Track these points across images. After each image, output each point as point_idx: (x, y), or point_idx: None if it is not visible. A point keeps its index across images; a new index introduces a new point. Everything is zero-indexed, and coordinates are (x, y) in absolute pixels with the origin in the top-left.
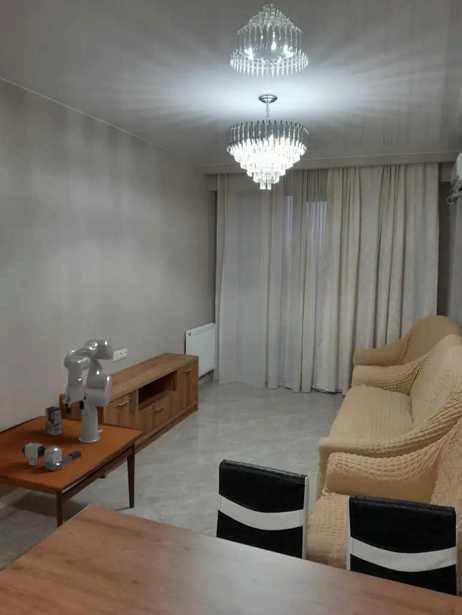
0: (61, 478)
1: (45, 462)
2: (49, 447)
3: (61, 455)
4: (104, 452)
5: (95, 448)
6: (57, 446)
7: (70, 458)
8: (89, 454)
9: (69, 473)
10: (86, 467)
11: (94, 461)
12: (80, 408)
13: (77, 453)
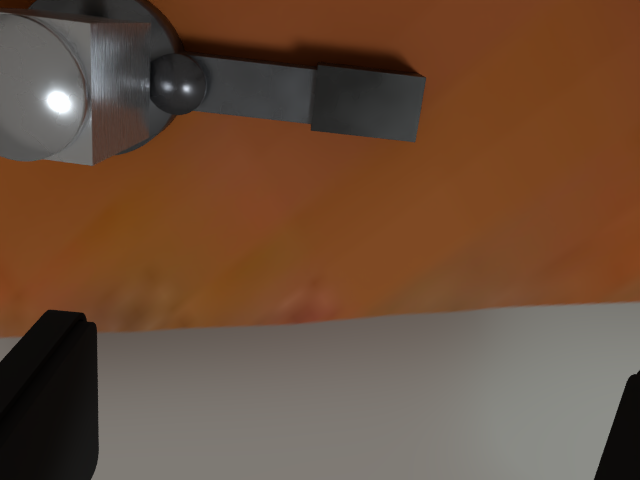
0: (20, 258)
1: (44, 1)
2: (9, 28)
3: (124, 147)
4: (559, 258)
5: (610, 136)
6: (77, 111)
7: (282, 118)
8: (473, 171)
9: (113, 256)
10: (259, 302)
11: (375, 291)
12: (620, 418)
13: (372, 131)
